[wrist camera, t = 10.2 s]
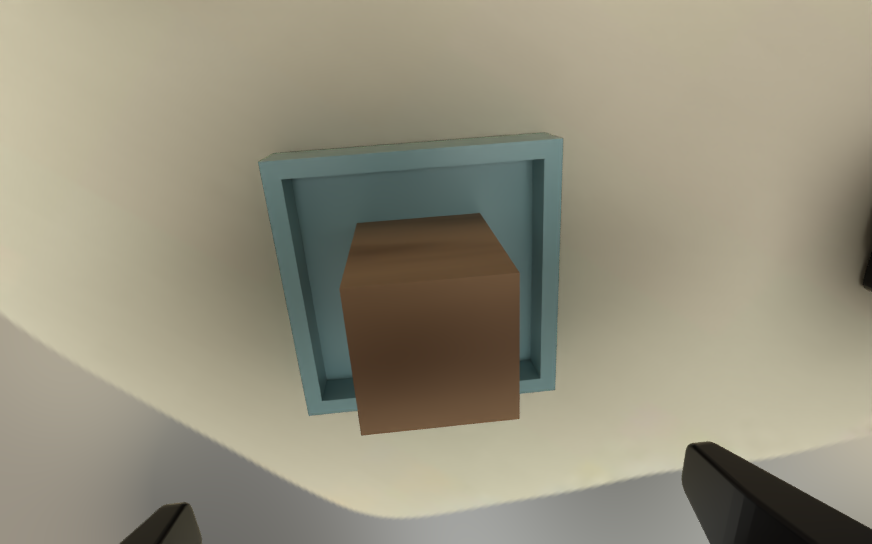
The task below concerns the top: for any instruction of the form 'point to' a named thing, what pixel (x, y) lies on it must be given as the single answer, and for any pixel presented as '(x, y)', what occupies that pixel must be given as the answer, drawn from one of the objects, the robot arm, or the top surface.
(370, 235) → the walnut block
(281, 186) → the teal tray
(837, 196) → the top surface
